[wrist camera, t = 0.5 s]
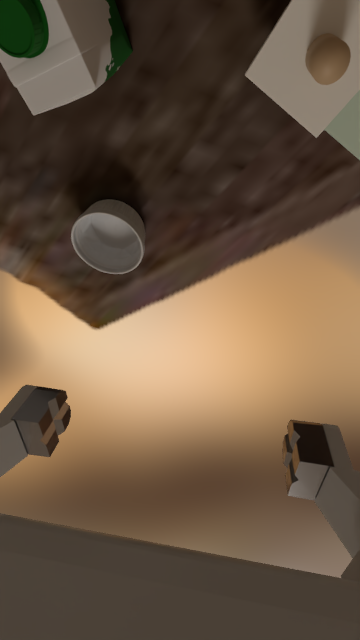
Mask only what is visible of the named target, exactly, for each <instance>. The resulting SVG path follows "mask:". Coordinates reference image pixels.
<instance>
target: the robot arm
mask: <svg viewBox="0 0 360 640" xmlns="http://www.w3.org/2000/svg"><path fill="white" fill-rule="evenodd" d="M66 399H67V395H66V391H63V390H57V389H52V388H45V387H38V386H31V385H25V386H23V387H22V388H21V389H20V390H19V391H18V393H17V394H16V395H15V396H14V398H13V399H12V400H11V401H10V402H9V403H8V405H7V406H6V407H5V408H4V409H3V411H2V412H1V413H0V477H1V476H2V475H4V474H5V473H6V472H7V471H9V470H10V469H11V468H13V467H14V466H15V465H16V464H18V463H19V462H20V461H21V460H22V459H24V458H25V457H27V455H28V454H30V455H38V456H46V457H50V456H51V454H52V453H53V451H54V449H55V447H56V446H57V444H58V442H59V439H58V435H60V434H61V433H63V432H64V431H65V430H66V428H67V426H68V424H69V421H70V417H71V410H70V406H69V405H68V404H67V403H66V402H65V401H66ZM287 429H288V434H287V435H285V437H284V441H283V449H282V452H283V463H284V465H285V466H286V467H287V472H286V475H285V478H286V486H287V493H288V496H294V497H299V498H304V499H310V500H315V503H316V505H317V506H318V508H319V509H320V511H321V512H322V514H323V515H324V517H325V518H326V519H327V521H328V522H329V524H330V525H331V527H332V528H333V530H334V531H335V533H336V534H337V535H338V537H339V538H340V540H341V542H342V543H343V544H344V546H345V547H346V549H347V550H348V552H349V553H350V555H351V556H352V558H353V559H352V561H351V562H350V564H349V565H348V567H347V568H346V570H345V571H344V572H343V574H342V575H341V578H337V577H332V576H326V575H321V574H316V573H311V572H305V571H300V570H294V569H289V568H284V567H279V566H274V565H269V564H263V563H258V562H252V561H247V560H242V559H237V558H232V557H227V556H220V555H216V554H211V553H206V552H200V551H195V550H190V549H185V548H179V547H174V546H169V545H163V544H158V543H153V542H148V541H142V540H137V539H132V538H127V537H122V536H116V535H111V534H105V533H100V532H95V531H90V530H85V529H79V528H74V527H69V526H64V525H58V524H53V523H48V522H43V521H37V520H32V519H27V518H21V517H16V516H11V515H5V514H0V640H360V472H359V471H355V470H353V467H352V464H351V461H350V458H349V456H348V452H347V450H346V447H345V444H344V441H343V438H342V435H341V432H340V429H339V427H338V426H335V425H328V424H320V423H314V422H305V421H297V420H290V421H289V423H288V426H287Z"/></svg>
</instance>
